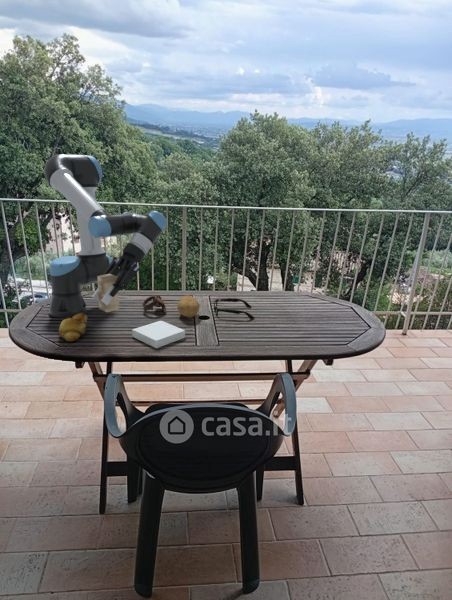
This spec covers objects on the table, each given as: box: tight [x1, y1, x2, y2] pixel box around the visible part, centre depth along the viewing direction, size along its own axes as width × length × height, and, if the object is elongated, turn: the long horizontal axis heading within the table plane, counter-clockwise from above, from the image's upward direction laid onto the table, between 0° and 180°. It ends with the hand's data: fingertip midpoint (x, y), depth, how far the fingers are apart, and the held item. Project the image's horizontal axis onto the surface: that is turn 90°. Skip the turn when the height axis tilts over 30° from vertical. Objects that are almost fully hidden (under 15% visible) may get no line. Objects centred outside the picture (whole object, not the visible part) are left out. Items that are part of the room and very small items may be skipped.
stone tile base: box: [131, 320, 186, 349], centre depth 161 cm, size 14×14×3 cm
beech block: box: [97, 274, 120, 313], centre depth 149 cm, size 5×5×12 cm
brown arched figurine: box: [142, 294, 167, 314], centre depth 188 cm, size 12×10×8 cm
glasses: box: [213, 298, 255, 320], centre depth 190 cm, size 17×18×5 cm
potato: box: [176, 295, 201, 319], centre depth 183 cm, size 10×14×8 cm
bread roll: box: [58, 313, 88, 342], centre depth 157 cm, size 13×10×8 cm
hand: (99, 300), depth 147 cm, fingers closed on beech block, 5 cm apart
